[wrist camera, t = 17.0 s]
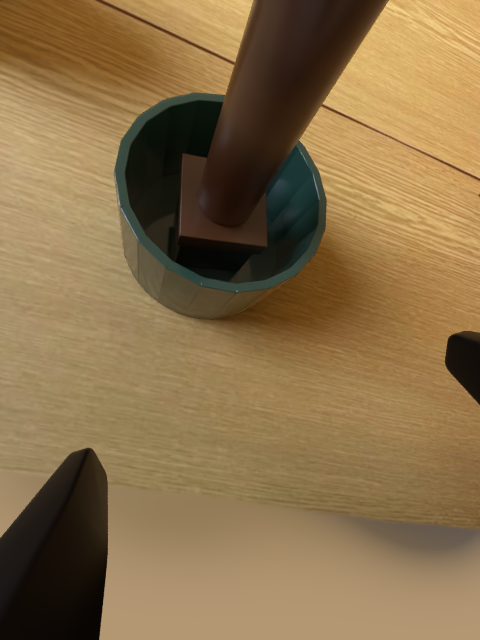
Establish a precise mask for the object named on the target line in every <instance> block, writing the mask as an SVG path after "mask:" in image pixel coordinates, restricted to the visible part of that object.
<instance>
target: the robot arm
mask: <svg viewBox="0 0 480 640" xmlns="http://www.w3.org/2000/svg"><path fill="white" fill-rule="evenodd" d="M445 365H446V367H447V369H448V371H449V372H450V373H451V374H452V375H453V376H454V377H455V378H456V379H457V381H458V382H459V383H460V384H461V385H462V386H463V387H464V388H465V389H466V390H467V391H468V393H469V394H470V395H471V396H472V397H473V398H474V399H475V400H476V401H477V402H478V404H479V405H480V333H478V332H472V331H462V332H459V333H456V334H453V335H451V336H450V337H449V338H448V342H447V349H446V357H445ZM107 495H108V482H107V475H106V472H105V470H104V468H103V466H102V465H101V463H100V461H99V459H98V457H97V455H96V454H95V452H94V450H93V449H91V448H85V449H82V450H79V451H75V452H73V453H71V454H70V455H69V456H68V457H67V458H66V459H65V460H64V462H63V463H62V464H61V465H60V466H59V468H58V469H57V470H56V471H55V472H54V474H53V475H52V476H51V477H50V479H49V480H48V481H47V482H46V484H45V485H44V486H43V487H42V488H41V489H40V491H39V492H38V493H37V494H36V495H35V497H34V498H33V499H32V500H31V502H30V503H29V504H28V505H27V506H26V508H25V509H24V510H23V512H21V514H20V515H19V516H18V517H17V519H16V520H15V521H14V522H13V523H12V525H11V526H10V527H9V528H8V529H7V531H6V532H5V533H4V534H3V535H2V537H1V538H0V640H99V636H100V626H101V617H102V606H103V597H104V587H105V578H106V568H107V555H108V497H107Z"/></svg>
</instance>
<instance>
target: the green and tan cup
mask: <svg viewBox="0 0 480 640" xmlns="http://www.w3.org/2000/svg"><path fill="white" fill-rule="evenodd" d="M224 99H225V95H219V94H207V93H190V94H186V95H181V96H177V97H172V98H167V99H165V100H162V101H161V102H159V103H158V104H156V105H154V106H153V107H151V108H150V109H148V110H147V111H145V112H143V113H142V114H140V115H139V116H138V117H137V119H136V120H135V122H134V123H133V124H132V126H131V127H130V129H129V130H128V131H127V133H126V134H125V136H124V137H123V138H122V140H121V142H120V147H119V151H118V156H117V161H116V165H115V170H114V178H115V186H116V195H117V203H118V211H119V220H120V228H121V235H122V241H123V248H124V254H125V257H126V260H127V263H128V265H129V267H130V269H131V271H132V274H133V275H134V277H135V278H136V280H137V281H138V283H139V284H140V285H141V286H142V288H143V289H144V290H145V291H146V292H147V293H148V294H149V295H150V296H151V297H153V298H154V299H155V300H156V301H158V302H159V303H160V304H162V305H163V306H165V307H167V308H169V309H171V310H173V311H175V312H177V313H180V314H183V315H186V316H190V317H194V318H202V319H218V318H224V317H229V316H232V315H235V314H238V313H240V312H242V311H245V310H247V309H248V308H250V307H251V306H253V305H255V304H257V303H258V302H260V301H261V300H263V299H264V298H265V297H267V296H268V295H270V294H271V293H272V292H274V291H275V290H276V289H278V288H279V287H281V286H282V285H283V284H285V283H286V282H288V281H289V280H290V279H292V278H293V277H295V276H296V275H297V274H298V273H299V272H300V271H301V270H302V269H303V267H304V266H305V265H306V264H307V263H308V262H309V261H310V260H311V259H312V257H313V256H314V255H315V254H316V251H317V249H318V246H319V244H320V241H321V239H322V236H323V233H324V231H325V227H326V196H325V192H324V189H323V185H322V181H321V177H320V173H319V171H318V169H317V167H316V166H315V164H314V162H313V160H312V159H311V157H310V155H309V153H308V152H307V150H306V148H305V147H304V145H303V144H302V143H301V142H300V141H298V142H297V144H296V145H295V147H294V149H293V150H292V152H291V153H290V155H289V156H288V158H287V159H286V161H285V163H284V164H283V166H282V167H281V169H280V170H279V172H278V173H277V175H276V176H275V178H274V180H273V181H272V183H271V184H270V186H269V187H268V189H267V190H266V208H267V248H266V249H265V250H264V251H263V252H262V253H261V254H260V255H257V254H253V255H252V256H251V257H250V258H249V259H248V260H247V262H246V263H245V264H244V265H243V266H242V268H241V269H240V270H239V271H229V270H219V269H209V268H200V267H190V266H181V265H179V264H177V263H176V262H175V242H176V217H177V203H178V198H179V174H180V163H181V158H182V154H183V153H185V154H190V155H195V156H200V157H205V158H207V157H208V153H209V150H210V146H211V143H212V140H213V136H214V133H215V129H216V126H217V123H218V119H219V116H220V112H221V109H222V106H223V102H224Z"/></svg>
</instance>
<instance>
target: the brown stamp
mask: <svg viewBox="0 0 480 640" xmlns="http://www.w3.org/2000/svg"><path fill="white" fill-rule="evenodd" d="M388 1H389V0H253V4H252V7H251V11H250V14H249V17H248V21H247V24H246V28H245V31H244V34H243V38H242V41H241V45H240V48H239V51H238V55H237V58H236V61H235V65H234V68H233V72H232V75H231V78H230V82H229V85H228V89H227V92H226V95H225V99H224V102H223V106H222V109H221V112H220V116H219V119H218V123H217V126H216V129H215V133H214V136H213V140H212V143H211V146H210V150H209V153H208V157H207V158H205V157H200V156H195V155H190V154H185V153H183V154H182V158H181V163H180V174H179V198H178V203H177V217H176V242H175V262H176V263H177V264H179V265H181V266H190V267H200V268H209V269H219V270H229V271H239V270H240V269H241V268H242V266H243V265H244V264H245V263H246V262H247V260H248V259H249V258H250V257H251V256H252V255H253V254H257V255H260V254H261V253H262V252H263V251H264V250H265V249H266V248H267V208H266V190H267V189H268V187H269V186H270V184H271V183H272V181H273V180H274V178H275V176H276V175H277V173H278V172H279V170H280V169H281V167H282V166H283V164H284V163H285V161H286V159H287V158H288V156H289V155H290V153H291V152H292V150H293V149H294V147H295V145H296V144H297V142H298V141H299V139H300V138H301V136H302V135H303V133H304V131H305V130H306V128H307V127H308V125H309V124H310V122H311V121H312V119H313V117H314V116H315V114H316V113H317V111H318V110H319V108H320V107H321V105H322V103H323V102H324V100H325V99H326V97H327V96H328V94H329V93H330V91H331V89H332V88H333V86H334V85H335V83H336V82H337V80H338V79H339V77H340V76H341V74H342V72H343V71H344V69H345V68H346V66H347V65H348V63H349V62H350V60H351V58H352V57H353V55H354V54H355V52H356V51H357V49H358V48H359V46H360V44H361V43H362V41H363V40H364V38H365V37H366V35H367V34H368V32H369V30H370V29H371V27H372V26H373V24H374V23H375V21H376V20H377V18H378V16H379V15H380V13H381V12H382V10H383V9H384V7H385V6H386V4H387V3H388Z"/></svg>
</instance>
